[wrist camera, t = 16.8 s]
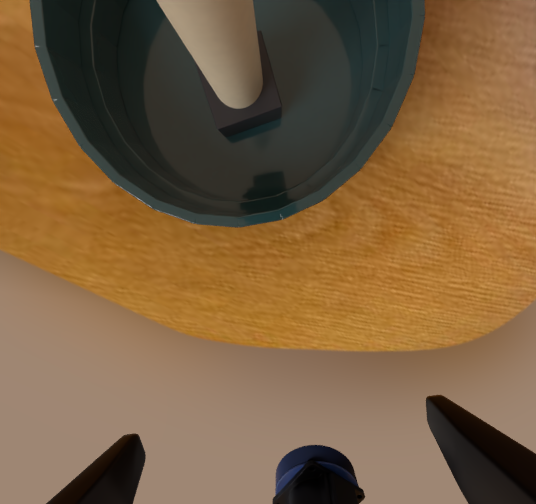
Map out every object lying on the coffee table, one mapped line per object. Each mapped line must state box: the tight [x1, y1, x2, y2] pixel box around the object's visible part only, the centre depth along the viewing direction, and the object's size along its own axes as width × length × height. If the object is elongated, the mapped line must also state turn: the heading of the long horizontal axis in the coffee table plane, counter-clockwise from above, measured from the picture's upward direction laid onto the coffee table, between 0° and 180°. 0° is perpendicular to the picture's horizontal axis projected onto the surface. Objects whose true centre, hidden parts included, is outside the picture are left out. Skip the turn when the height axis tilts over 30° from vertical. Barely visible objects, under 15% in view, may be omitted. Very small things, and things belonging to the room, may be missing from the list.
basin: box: [30, 0, 425, 228], centre depth 15 cm, size 18×18×6 cm
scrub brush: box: [156, 0, 282, 137], centre depth 11 cm, size 4×4×14 cm
